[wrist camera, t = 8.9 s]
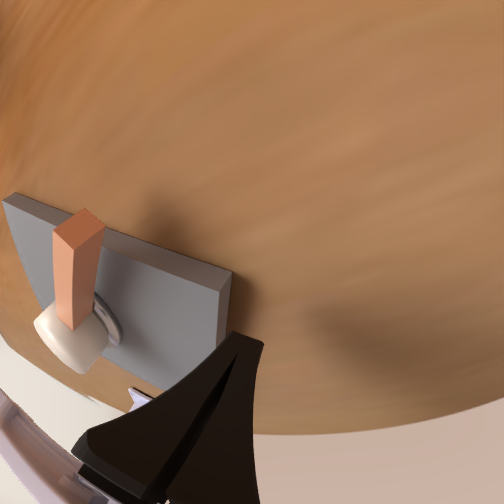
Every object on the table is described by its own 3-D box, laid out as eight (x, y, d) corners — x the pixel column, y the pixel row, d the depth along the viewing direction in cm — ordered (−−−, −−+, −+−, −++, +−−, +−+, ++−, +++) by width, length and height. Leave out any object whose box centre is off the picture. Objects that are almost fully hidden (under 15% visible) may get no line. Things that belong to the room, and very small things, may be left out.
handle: (106, 354, 19) (85, 381, 17) (61, 314, 19) (38, 338, 17) (135, 250, 11) (88, 294, 9) (61, 187, 11) (13, 217, 9)
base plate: (219, 398, 22) (208, 419, 20) (54, 309, 26) (42, 321, 24) (232, 271, 14) (212, 302, 12) (15, 192, 18) (-5, 204, 16)
